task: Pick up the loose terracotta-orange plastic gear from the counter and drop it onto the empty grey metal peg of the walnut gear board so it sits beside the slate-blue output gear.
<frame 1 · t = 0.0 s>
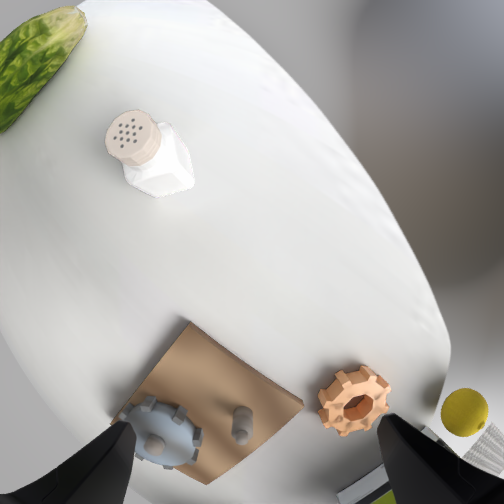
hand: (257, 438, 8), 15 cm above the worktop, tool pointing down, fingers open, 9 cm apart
gear board: (198, 417, 23), on the worktop
lemon: (446, 398, 23), on the worktop
pepper shaker: (172, 174, 23), on the worktop
tea box: (395, 470, 24), on the worktop
lettuce: (42, 83, 23), on the worktop
gear: (350, 396, 23), on the worktop
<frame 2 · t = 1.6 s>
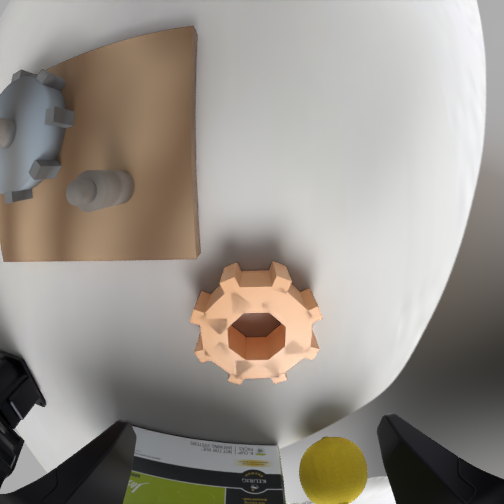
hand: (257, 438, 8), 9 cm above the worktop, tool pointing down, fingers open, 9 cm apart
gear board: (74, 154, 13), on the worktop
lemon: (324, 436, 20), on the worktop
tea box: (198, 459, 21), on the worktop
gear: (256, 316, 16), on the worktop
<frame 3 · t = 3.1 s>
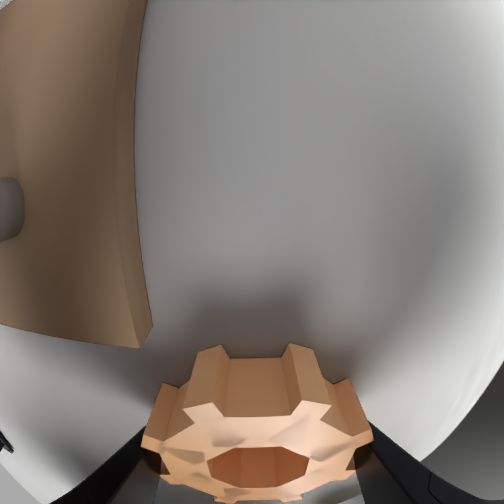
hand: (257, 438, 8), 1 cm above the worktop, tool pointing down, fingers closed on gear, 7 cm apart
gear: (256, 417, 9), on the worktop, touching gripper
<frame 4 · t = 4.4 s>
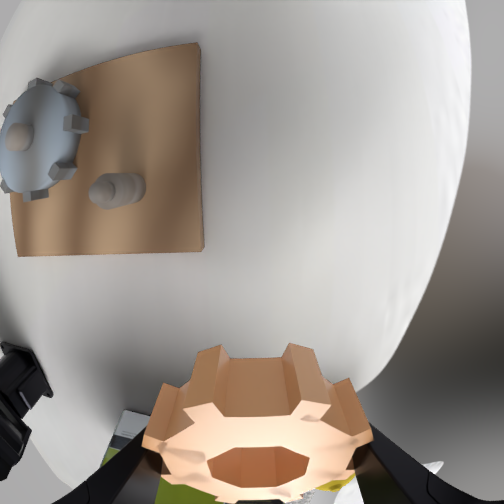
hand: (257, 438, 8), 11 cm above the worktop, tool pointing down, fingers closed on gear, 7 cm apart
gear board: (88, 157, 15), on the worktop
tea box: (199, 446, 23), on the worktop
gear: (257, 417, 9), point 10 cm above the worktop, touching gripper
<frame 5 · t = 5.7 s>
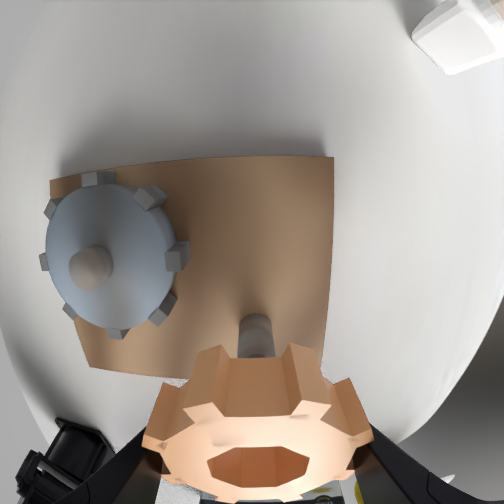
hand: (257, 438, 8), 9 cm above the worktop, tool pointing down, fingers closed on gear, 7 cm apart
gear board: (183, 278, 15), on the worktop
pepper shaker: (434, 46, 11), on the worktop
tea box: (266, 489, 23), on the worktop
gear: (257, 417, 9), point 8 cm above the worktop, touching gripper
when the fingers open (5 cm above the worktop, at t = 7.5 s): gear drops 3 cm, resting on gear board.
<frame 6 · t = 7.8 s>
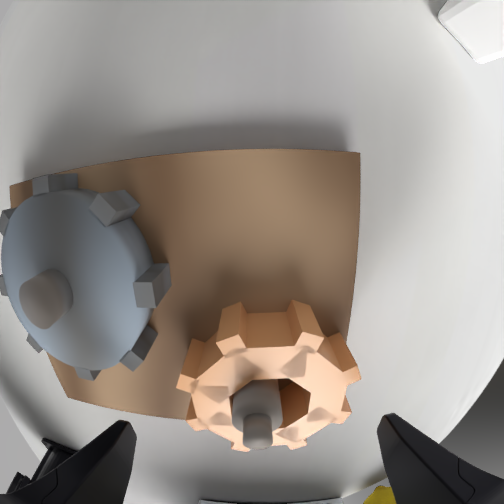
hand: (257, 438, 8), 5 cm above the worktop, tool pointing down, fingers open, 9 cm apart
gear board: (166, 306, 12), on the worktop
lemon: (377, 485, 18), on the worktop
pepper shaker: (461, 31, 8), on the worktop
gear: (267, 368, 11), point 1 cm above the worktop, touching gear board
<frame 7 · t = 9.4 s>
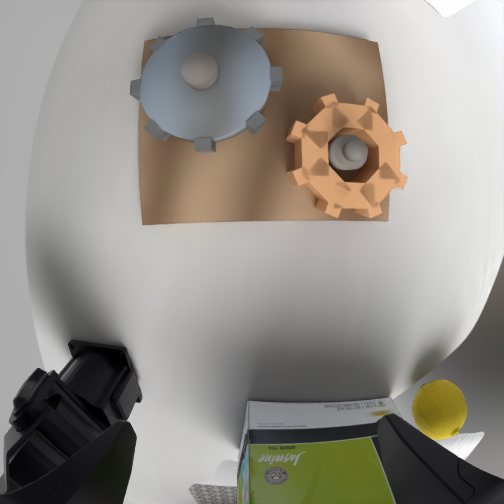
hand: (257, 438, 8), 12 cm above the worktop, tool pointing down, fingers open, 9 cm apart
gear board: (265, 118, 16), on the worktop
lemon: (422, 384, 22), on the worktop
pepper shaker: (433, 0, 12), on the worktop
tea box: (313, 428, 24), on the worktop
gear: (340, 157, 15), point 1 cm above the worktop, touching gear board
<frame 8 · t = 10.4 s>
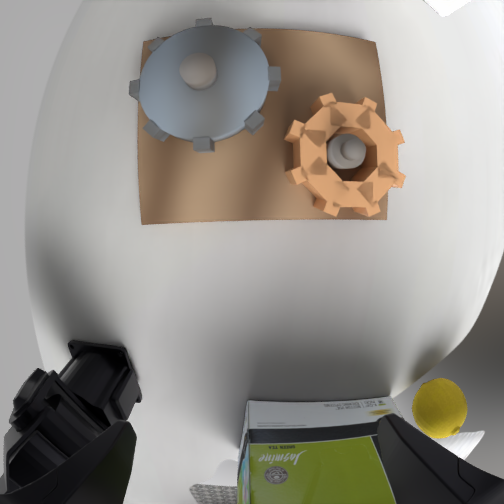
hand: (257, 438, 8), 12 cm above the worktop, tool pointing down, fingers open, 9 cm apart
gear board: (264, 118, 16), on the worktop
lemon: (422, 383, 23), on the worktop
pepper shaker: (431, 0, 12), on the worktop
tea box: (313, 427, 24), on the worktop
gear: (339, 156, 16), point 1 cm above the worktop, touching gear board
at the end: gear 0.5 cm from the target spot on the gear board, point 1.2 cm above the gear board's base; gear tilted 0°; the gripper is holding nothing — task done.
